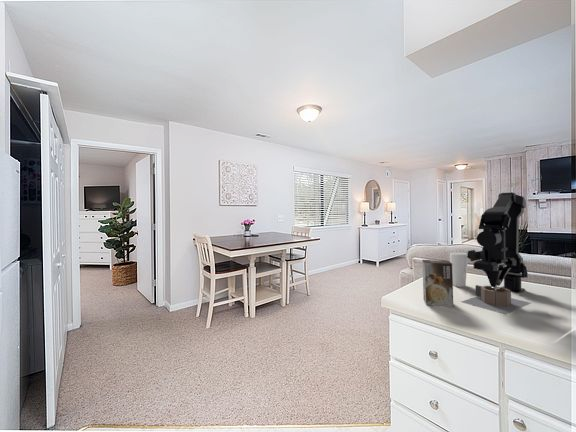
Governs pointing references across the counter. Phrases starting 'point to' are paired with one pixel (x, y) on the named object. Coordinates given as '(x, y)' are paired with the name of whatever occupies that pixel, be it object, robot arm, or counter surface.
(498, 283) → the silver stemmed round piece
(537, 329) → the counter surface
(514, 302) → the mat
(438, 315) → the counter surface
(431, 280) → the coffee box
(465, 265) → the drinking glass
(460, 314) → the counter surface
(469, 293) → the counter surface
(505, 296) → the brown octagonal ring
